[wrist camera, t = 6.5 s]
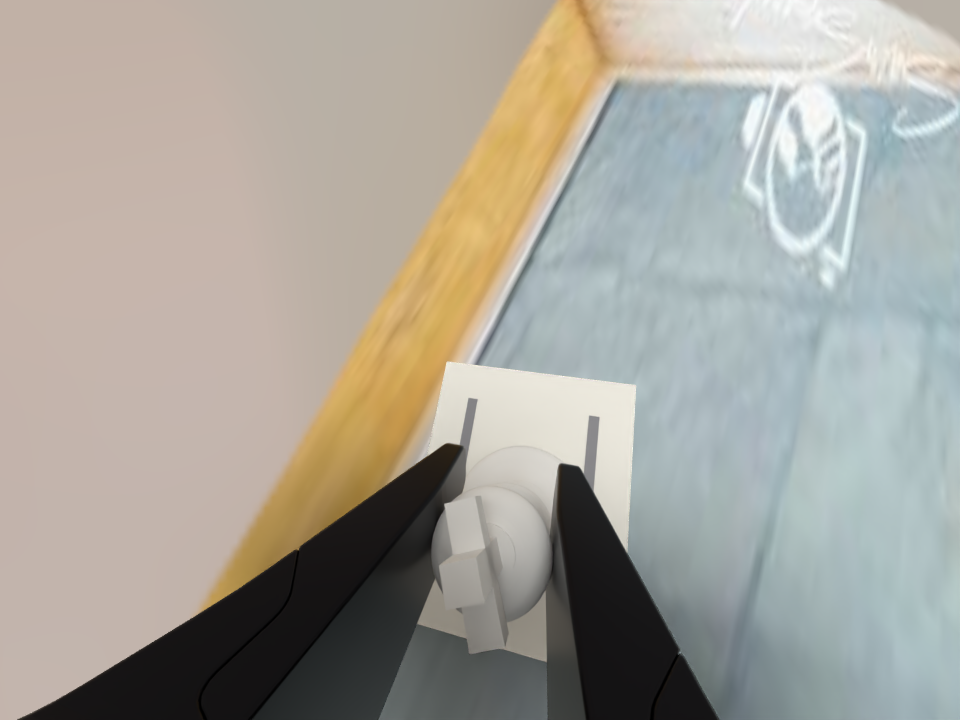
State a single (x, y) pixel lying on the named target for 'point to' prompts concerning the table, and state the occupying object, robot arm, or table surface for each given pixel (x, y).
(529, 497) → the chess piece
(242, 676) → the robot arm
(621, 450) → the slotted cream plate
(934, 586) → the table surface
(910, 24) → the table surface
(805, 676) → the table surface
